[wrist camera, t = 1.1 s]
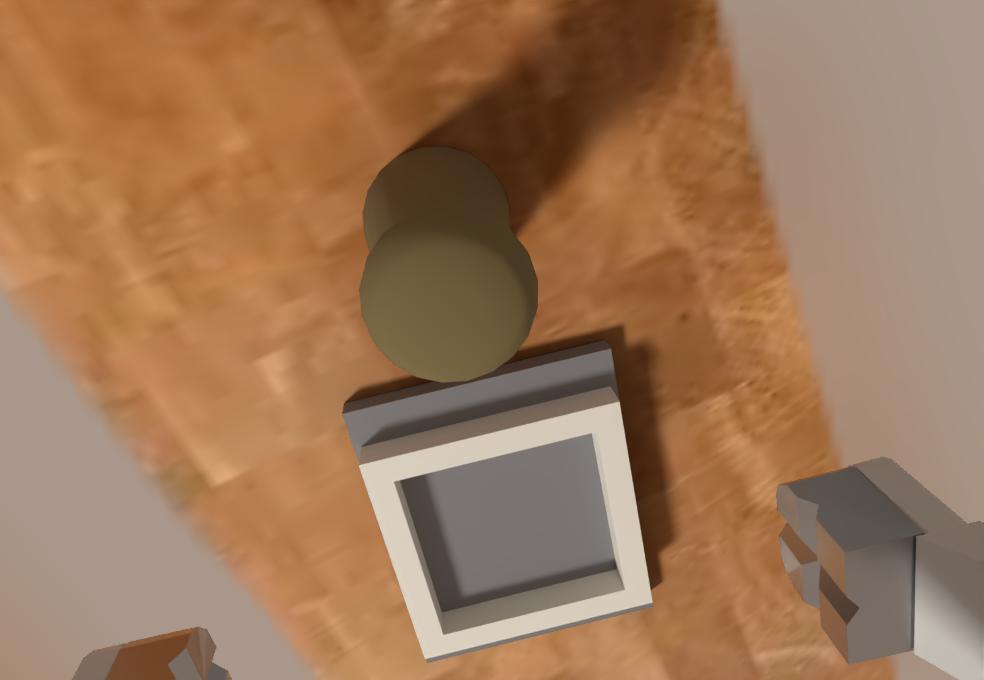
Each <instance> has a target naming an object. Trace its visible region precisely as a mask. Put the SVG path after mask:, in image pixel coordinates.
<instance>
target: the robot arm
mask: <svg viewBox="0 0 984 680" xmlns="http://www.w3.org/2000/svg"><path fill="white" fill-rule="evenodd" d="M776 498H777V510H778V511H779V512H780V513H781V515H782V516H783V517H784V519H785V520H786V521H787V523H786V525H785V526H784V528H783V530H782V531H781V533H780V534H779V538H780V547H781V555H782V558H783V562H784V565H785V568H786V571H787V574H788V576H789V578H790V580H791V582H792V584H793V586H794V588H795V590H796V591H797V592H798V594H799V595H800V597H801V598H802V600H803V601H804V602H805V603H807V604H809V605H812V606H814V607H816V608H818V609H820V616H821V627H822V628H823V630H824V631H825V632H826V634H827V635H828V636H829V638H830V639H831V641H832V642H833V643H834V645H835V646H836V648H837V649H838V650H839V652H840V653H841V655H842V656H843V657H844V659H845V660H846V661H847V663H848V664H853V663H858V662H862V661H867V660H871V659H876V658H881V657H885V656H890V655H894V654H899V653H903V652H908V651H912V650H914V654H916V655H918V656H919V657H921V658H923V659H924V660H926V661H928V662H930V663H931V664H933V665H935V666H937V667H939V668H940V669H942V670H944V671H945V672H947V673H949V674H950V675H952V676H954V677H956V678H957V679H959V680H984V523H983V522H980V521H978V522H974V523H969V524H968V523H966V522H965V521H964V520H963V519H962V518H960V517H959V516H958V515H957V514H956V513H955V512H953V511H952V510H951V509H950V508H949V507H947V506H946V505H945V504H944V503H943V502H942V501H940V500H939V499H938V498H937V497H935V496H934V495H933V494H932V493H931V492H930V491H929V490H927V489H926V488H925V487H924V486H923V485H921V484H920V483H919V482H918V481H917V480H916V479H914V478H913V477H912V476H911V475H909V474H908V473H907V472H906V471H905V470H904V469H903V468H901V467H900V466H899V465H898V464H897V463H895V462H894V461H893V460H892V459H889V458H886V457H880V458H876V459H873V460H869V461H865V462H861V463H858V464H854V465H850V466H848V467H847V468H843V469H839V470H835V471H831V472H827V473H823V474H819V475H815V476H811V477H807V478H803V479H799V480H795V481H791V482H787V483H783V484H779V485H778V489H777V493H776ZM215 650H216V645H215V644H214V642H213V640H212V638H211V636H210V634H209V633H208V631H207V629H204V628H201V627H195V628H190V629H185V630H181V631H176V632H172V633H168V634H163V635H158V636H154V637H149V638H145V639H140V640H136V641H132V642H129V643H127V644H120V645H116V646H111V647H107V648H103V649H98V650H94V651H92V652H91V653H90V654H88V655H87V656H85V657H84V658H83V660H82V662H81V663H80V665H79V667H78V669H77V671H76V673H75V675H74V677H73V678H72V680H232V679H231V677H230V675H229V672H228V671H227V670H225V669H223V668H222V667H219V666H218V665H216V664H214V663H213V662H212V660H213V656H214V653H215Z"/></svg>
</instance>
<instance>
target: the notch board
mask: <svg viewBox="0 0 984 680" xmlns="http://www.w3.org/2000/svg"><path fill="white" fill-rule="evenodd" d="M342 414H343V417H344V420H345V423H346V426H347V429H348V432H349V435H350V438H351V441H352V444H353V447H354V450H355V453H356V455H357V458H358V461H359V467H360V470H361V473H362V476H363V479H364V482H365V485H366V488H367V491H368V494H369V497H370V500H371V503H372V505H373V508H374V511H375V514H376V517H377V520H378V523H379V526H380V529H381V532H382V535H383V538H384V541H385V543H386V546H387V549H388V552H389V555H390V558H391V561H392V564H393V567H394V570H395V573H396V576H397V578H398V581H399V584H400V587H401V590H402V593H403V596H404V599H405V602H406V605H407V608H408V611H409V614H410V616H411V619H412V622H413V625H414V628H415V631H416V634H417V637H418V640H419V643H420V646H421V649H422V652H423V654H424V657H425V659H426V660H427V663H430V662H434V661H438V660H442V659H446V658H450V657H454V656H458V655H462V654H466V653H470V652H474V651H478V650H482V649H486V648H490V647H494V646H498V645H502V644H506V643H510V642H514V641H518V640H522V639H526V638H530V637H534V636H538V635H542V634H546V633H550V632H554V631H558V630H562V629H566V628H570V627H574V626H578V625H582V624H586V623H590V622H594V621H598V620H602V619H606V618H610V617H614V616H618V615H622V614H626V613H630V612H634V611H638V610H642V609H646V608H650V607H653V601H652V595H651V588H650V582H649V576H648V570H647V564H646V558H645V552H644V546H643V540H642V534H641V528H640V522H639V516H638V509H637V503H636V497H635V491H634V485H633V479H632V473H631V467H630V461H629V455H628V449H627V443H626V436H625V430H624V424H623V418H622V412H621V406H620V400H619V394H618V388H617V382H616V376H615V370H614V364H613V357H612V351H611V348H610V346H609V345H608V343H607V342H606V340H602V341H598V342H594V343H590V344H586V345H582V346H578V347H574V348H569V349H565V350H561V351H557V352H553V353H549V354H545V355H541V356H537V357H532V358H528V359H524V360H520V361H516V362H512V363H508V364H504V365H501V366H500V367H498V368H497V369H496V370H494V371H493V372H491V373H488V374H485V375H483V376H480V377H477V378H474V379H472V380H469V381H458V382H444V383H441V382H437V381H434V382H430V383H425V384H421V385H417V386H413V387H409V388H405V389H401V390H397V391H393V392H388V393H384V394H380V395H376V396H372V397H368V398H364V399H360V400H356V401H351V402H347V403H344V407H343V413H342Z"/></svg>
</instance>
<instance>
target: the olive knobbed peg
mask: <svg viewBox="0 0 984 680" xmlns="http://www.w3.org/2000/svg"><path fill="white" fill-rule="evenodd" d="M363 222H364V233H365V238H366V241H367V244H368V247H369V250H370V254H369V255H368V257H367V260H366V264H365V268H364V272H363V276H362V280H361V285H360V289H359V292H360V302H361V312H362V318H363V320H364V322H365V324H366V326H367V328H368V331H369V333H370V335H371V337H372V339H373V341H374V343H375V344H376V346H377V347H378V348H379V349H380V350H381V351H382V352H383V353H384V354H385V356H386V357H387V358H388V359H389V360H390V361H391V362H392V363H393V364H394V365H396V366H398V367H399V368H401V369H403V370H405V371H407V372H408V373H410V374H412V375H414V376H415V377H419V378H423V379H428V380H432V381H437V382H441V383H444V382H458V381H469V380H472V379H474V378H477V377H480V376H483V375H485V374H488V373H491V372H493V371H494V370H496V369H497V368H498V367H500V366H501V365H502V364H504V363H505V362H506V361H508V360H509V359H510V358H512V357H513V356H514V355H515V353H516V352H517V351H518V349H519V348H520V346H521V345H522V344H523V342H524V341H525V340H526V338H527V337H528V335H529V332H530V329H531V326H532V323H533V320H534V317H535V314H536V311H537V307H538V279H537V276H536V273H535V270H534V267H533V265H532V262H531V259H530V256H529V254H528V252H527V250H526V249H525V247H524V246H523V245H522V244H521V242H520V241H519V240H518V238H517V237H516V236H515V235H514V233H513V232H512V231H511V229H510V206H509V203H508V200H507V197H506V194H505V191H504V188H503V186H502V184H501V182H500V181H499V180H498V178H497V177H496V176H495V175H494V173H493V172H492V171H491V169H490V168H489V167H488V166H487V165H486V164H484V163H483V162H481V161H480V160H478V159H477V158H476V157H474V156H473V155H471V154H470V153H468V152H464V151H461V150H457V149H454V148H451V147H447V146H434V147H420V148H417V149H415V150H412V151H409V152H407V153H404V154H402V155H399V156H398V157H396V158H395V159H394V160H393V161H392V162H390V163H389V164H388V165H387V166H386V167H384V168H383V169H382V170H381V171H380V172H379V174H378V175H377V177H376V179H375V180H374V182H373V183H372V185H371V187H370V188H369V190H368V193H367V197H366V201H365V206H364V210H363Z"/></svg>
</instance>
